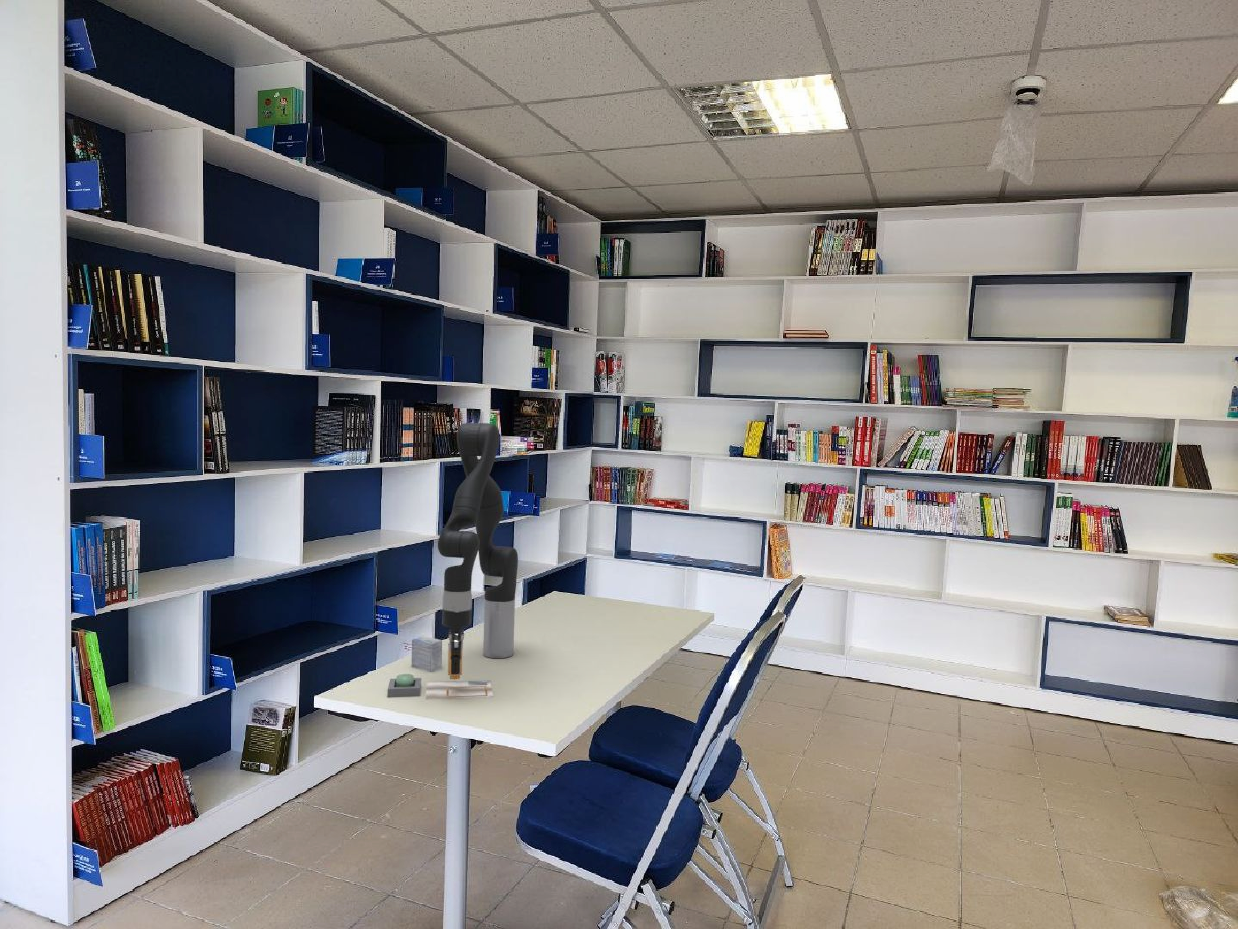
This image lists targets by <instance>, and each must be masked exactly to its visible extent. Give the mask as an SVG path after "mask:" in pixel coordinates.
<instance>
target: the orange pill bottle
mask: <svg viewBox="0 0 1238 929" xmlns="http://www.w3.org/2000/svg"><path fill="white" fill-rule="evenodd" d="M447 649H448V650H447V651H448V652H447V662H448V663H447V676H449V679H450V680H459V679H461V675H462V674H463V650H462V651H461V660H460V673H459V674H456V675H452V674H451V659H450V657H451V651H450V650H449V643H448V648H447ZM453 655H459V653H453Z"/></svg>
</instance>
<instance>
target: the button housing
mask: <svg viewBox="0 0 1238 929" xmlns="http://www.w3.org/2000/svg"><path fill="white" fill-rule="evenodd" d="M421 688H422V677H414V686H413V687H396V678H390V679H389V682H388V688H387V698H404V697H405V698H406V697H407V698H409V697H420V696H421V691H422V690H421Z"/></svg>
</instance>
